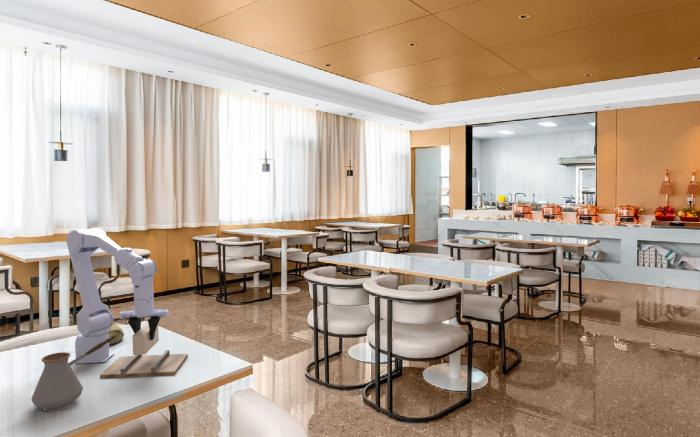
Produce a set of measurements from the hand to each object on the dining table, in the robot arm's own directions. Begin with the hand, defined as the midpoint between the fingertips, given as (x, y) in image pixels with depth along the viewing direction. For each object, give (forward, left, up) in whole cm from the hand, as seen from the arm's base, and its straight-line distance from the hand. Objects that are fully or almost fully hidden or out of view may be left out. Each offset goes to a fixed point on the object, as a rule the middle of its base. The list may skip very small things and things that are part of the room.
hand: (145, 339), depth 143 cm
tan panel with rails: (0, 0, -9) cm, 9 cm away
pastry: (-24, +27, -9) cm, 38 cm away
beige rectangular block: (0, +1, -3) cm, 3 cm away
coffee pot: (-11, -20, -9) cm, 25 cm away
